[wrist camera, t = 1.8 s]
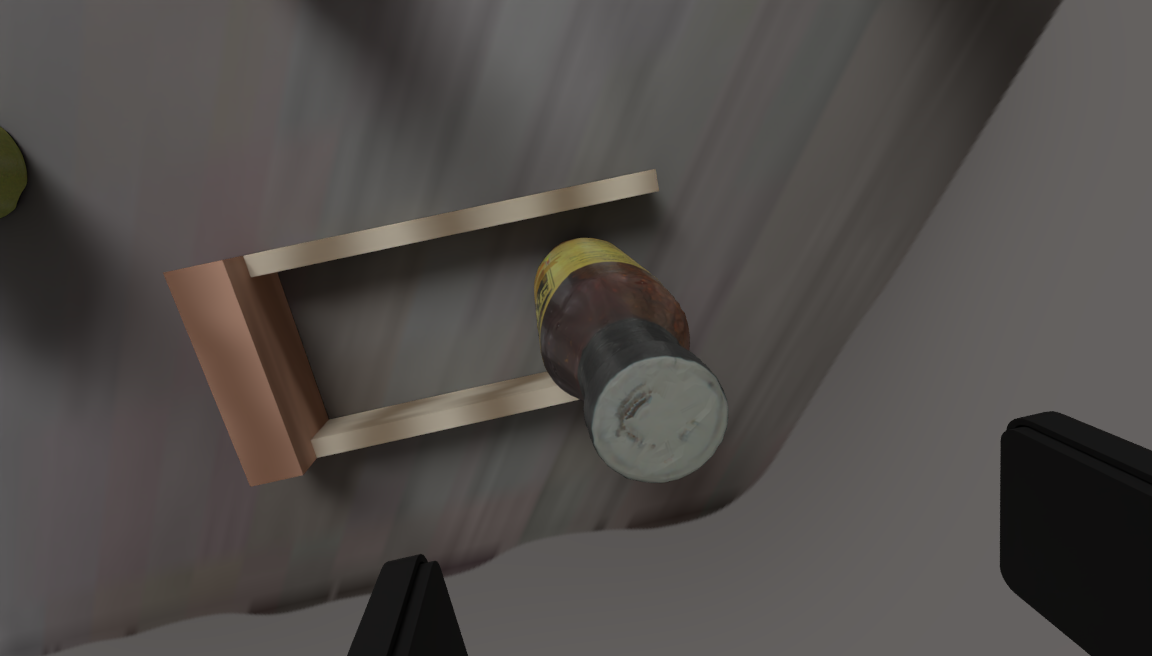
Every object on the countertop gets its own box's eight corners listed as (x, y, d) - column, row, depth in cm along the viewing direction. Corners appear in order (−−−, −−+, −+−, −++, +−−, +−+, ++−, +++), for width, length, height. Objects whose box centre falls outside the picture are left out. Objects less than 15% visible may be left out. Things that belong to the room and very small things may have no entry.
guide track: (644, 171, 32) (664, 167, 28) (675, 360, 36) (697, 387, 31) (219, 260, 32) (163, 272, 27) (289, 446, 35) (250, 486, 30)
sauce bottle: (518, 257, 33) (500, 345, 14) (612, 219, 33) (724, 256, 14) (557, 350, 35) (589, 544, 16) (646, 315, 35) (789, 466, 15)
